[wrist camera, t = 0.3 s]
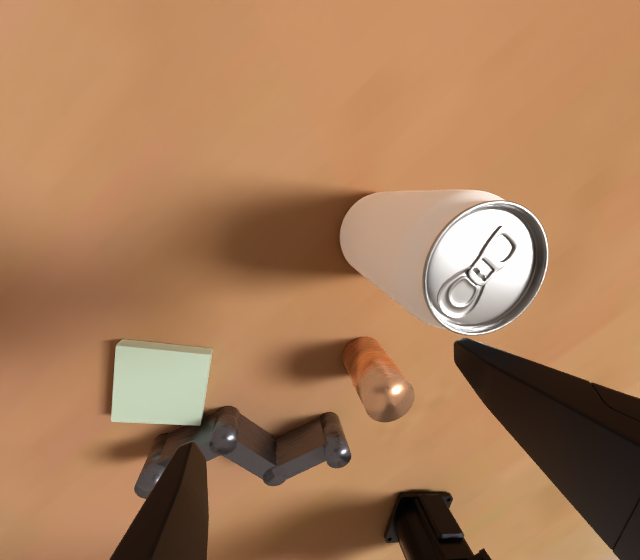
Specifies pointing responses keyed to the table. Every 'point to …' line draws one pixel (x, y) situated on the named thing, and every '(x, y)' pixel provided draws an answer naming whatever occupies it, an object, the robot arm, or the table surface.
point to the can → (448, 255)
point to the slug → (377, 380)
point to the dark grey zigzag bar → (251, 447)
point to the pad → (159, 383)
